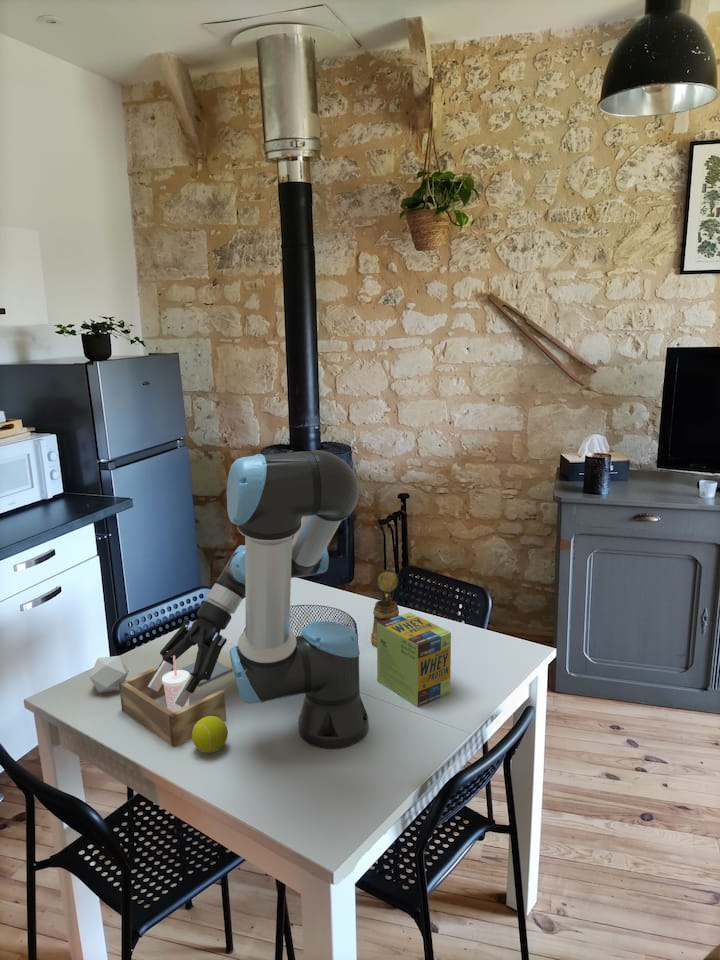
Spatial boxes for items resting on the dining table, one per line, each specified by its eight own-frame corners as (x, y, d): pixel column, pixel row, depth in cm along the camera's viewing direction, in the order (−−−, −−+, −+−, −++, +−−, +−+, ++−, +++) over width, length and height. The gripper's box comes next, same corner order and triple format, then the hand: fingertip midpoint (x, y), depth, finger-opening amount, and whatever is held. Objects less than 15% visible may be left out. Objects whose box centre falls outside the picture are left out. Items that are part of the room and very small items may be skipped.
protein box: (418, 708, 157) (417, 645, 154) (376, 680, 169) (375, 622, 166) (451, 693, 163) (452, 632, 160) (409, 667, 175) (409, 610, 172)
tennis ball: (211, 735, 148) (208, 706, 146) (235, 745, 144) (233, 715, 143) (186, 752, 142) (183, 722, 141) (210, 763, 139) (208, 732, 137)
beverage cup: (161, 720, 154) (155, 662, 151) (169, 705, 160) (164, 649, 157) (188, 720, 154) (183, 662, 151) (196, 705, 160) (191, 649, 157)
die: (112, 703, 162) (133, 665, 164) (78, 687, 162) (100, 649, 164) (118, 698, 170) (138, 661, 172) (86, 682, 170) (106, 646, 172)
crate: (172, 687, 168) (169, 661, 166) (226, 720, 153) (224, 691, 152) (121, 710, 158) (118, 682, 157) (174, 747, 144) (171, 717, 142)
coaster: (231, 670, 175) (231, 668, 175) (198, 686, 168) (198, 684, 168) (208, 658, 182) (208, 656, 182) (175, 673, 175) (175, 671, 174)
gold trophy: (405, 628, 198) (405, 568, 194) (402, 649, 185) (401, 586, 181) (374, 626, 199) (373, 567, 195) (368, 648, 186) (367, 585, 182)
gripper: (258, 627, 157) (205, 720, 149) (201, 602, 171) (149, 686, 163) (238, 613, 152) (182, 708, 144) (181, 588, 166) (127, 674, 158)
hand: (165, 696), depth 153 cm, fingers open, 9 cm apart
